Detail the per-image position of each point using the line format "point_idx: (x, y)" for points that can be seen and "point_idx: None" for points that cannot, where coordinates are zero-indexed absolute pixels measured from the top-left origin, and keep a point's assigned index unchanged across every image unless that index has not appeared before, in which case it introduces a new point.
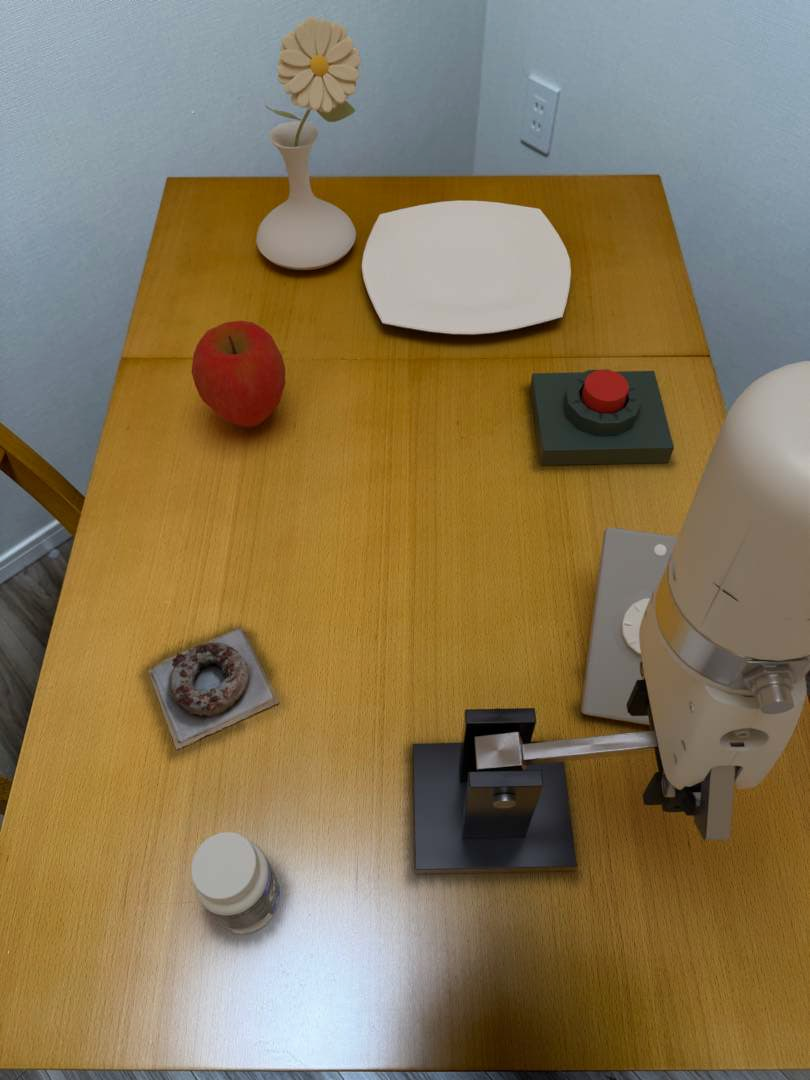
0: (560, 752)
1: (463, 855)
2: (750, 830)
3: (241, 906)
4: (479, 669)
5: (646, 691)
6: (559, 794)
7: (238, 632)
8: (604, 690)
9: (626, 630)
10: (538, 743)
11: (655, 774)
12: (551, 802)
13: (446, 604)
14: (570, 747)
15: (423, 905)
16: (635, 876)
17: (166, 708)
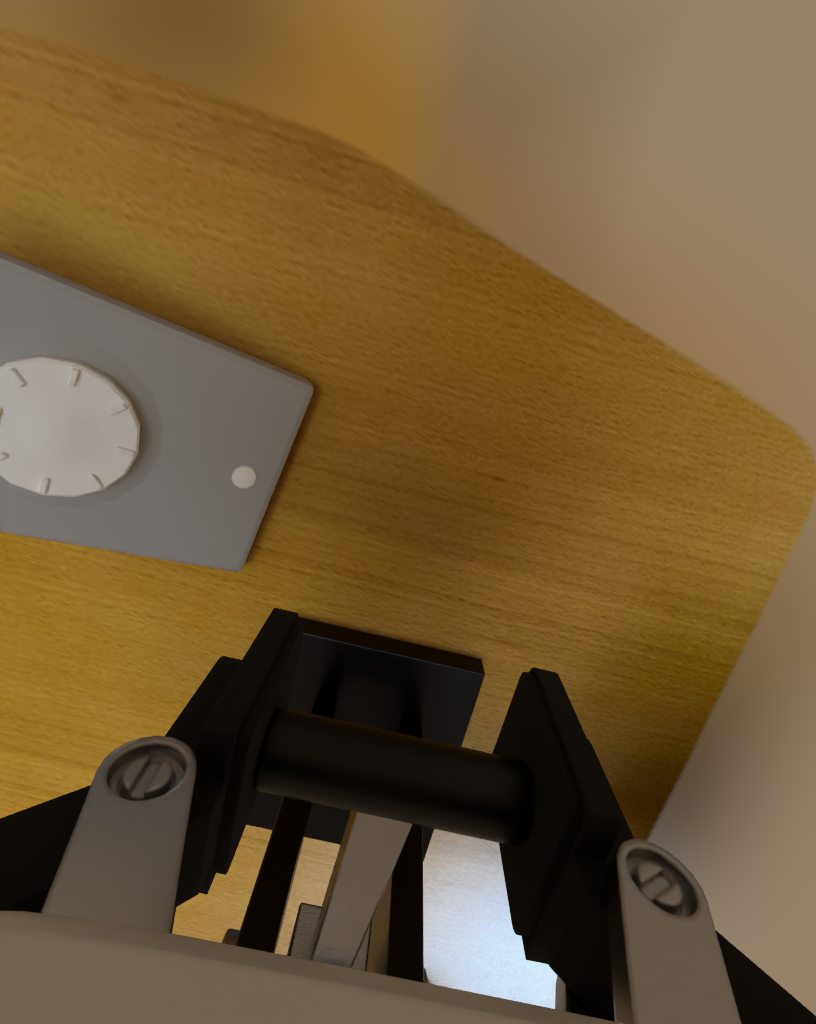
0: (349, 948)
1: None
2: (509, 362)
3: None
4: (135, 685)
5: (227, 865)
6: (371, 661)
7: None
8: (203, 535)
9: (63, 489)
10: None
11: (527, 957)
12: (380, 675)
13: (7, 699)
14: (343, 935)
15: (463, 840)
16: (517, 579)
17: None
